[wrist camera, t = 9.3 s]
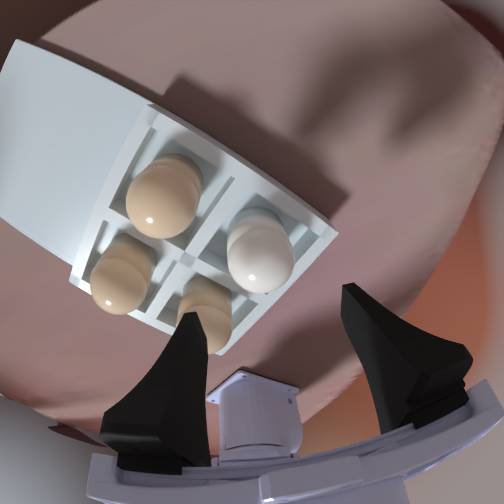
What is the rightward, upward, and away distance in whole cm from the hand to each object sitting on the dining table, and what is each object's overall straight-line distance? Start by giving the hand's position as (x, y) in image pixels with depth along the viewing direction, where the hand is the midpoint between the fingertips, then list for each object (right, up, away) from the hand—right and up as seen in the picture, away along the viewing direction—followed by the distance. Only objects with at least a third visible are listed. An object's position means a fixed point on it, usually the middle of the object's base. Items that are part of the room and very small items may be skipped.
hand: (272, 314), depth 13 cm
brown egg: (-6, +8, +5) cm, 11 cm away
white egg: (-1, +4, +7) cm, 9 cm away
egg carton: (-12, +7, +5) cm, 15 cm away
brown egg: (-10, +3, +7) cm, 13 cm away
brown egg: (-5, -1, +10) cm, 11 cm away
